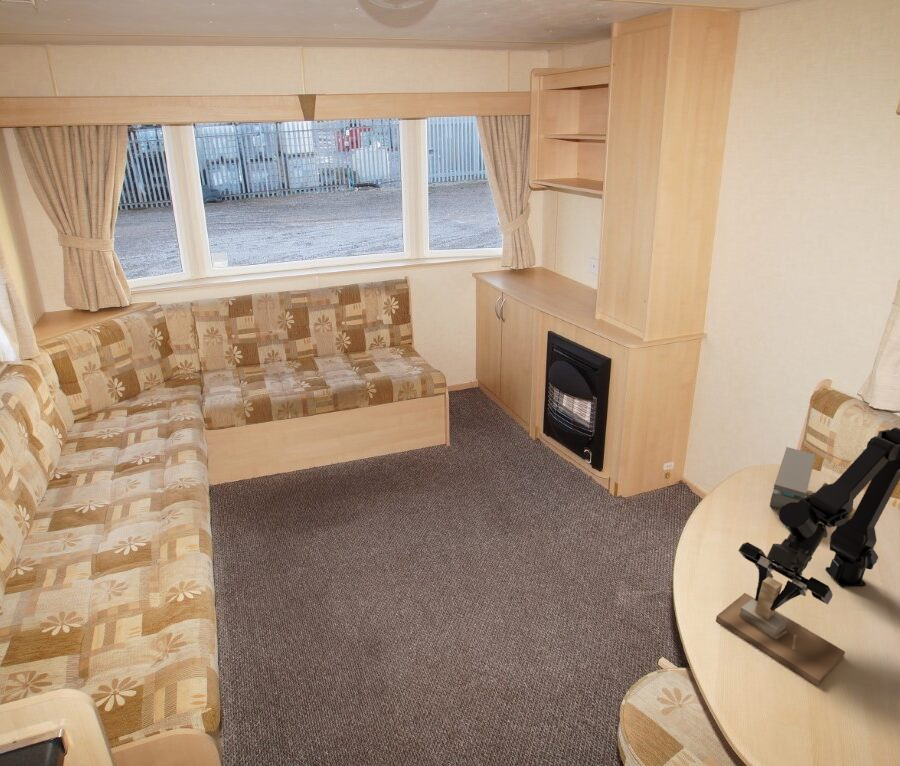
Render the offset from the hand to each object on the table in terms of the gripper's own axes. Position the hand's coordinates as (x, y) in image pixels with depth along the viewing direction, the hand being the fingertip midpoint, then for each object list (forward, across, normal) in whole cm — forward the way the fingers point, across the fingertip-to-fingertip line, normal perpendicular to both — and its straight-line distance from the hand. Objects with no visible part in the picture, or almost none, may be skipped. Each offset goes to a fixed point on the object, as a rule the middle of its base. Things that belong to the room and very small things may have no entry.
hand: (763, 605), depth 138 cm
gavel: (-40, -14, +51) cm, 66 cm away
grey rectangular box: (-34, -22, +44) cm, 60 cm away
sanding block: (+3, 0, +5) cm, 6 cm away
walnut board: (+4, +4, +6) cm, 8 cm away
